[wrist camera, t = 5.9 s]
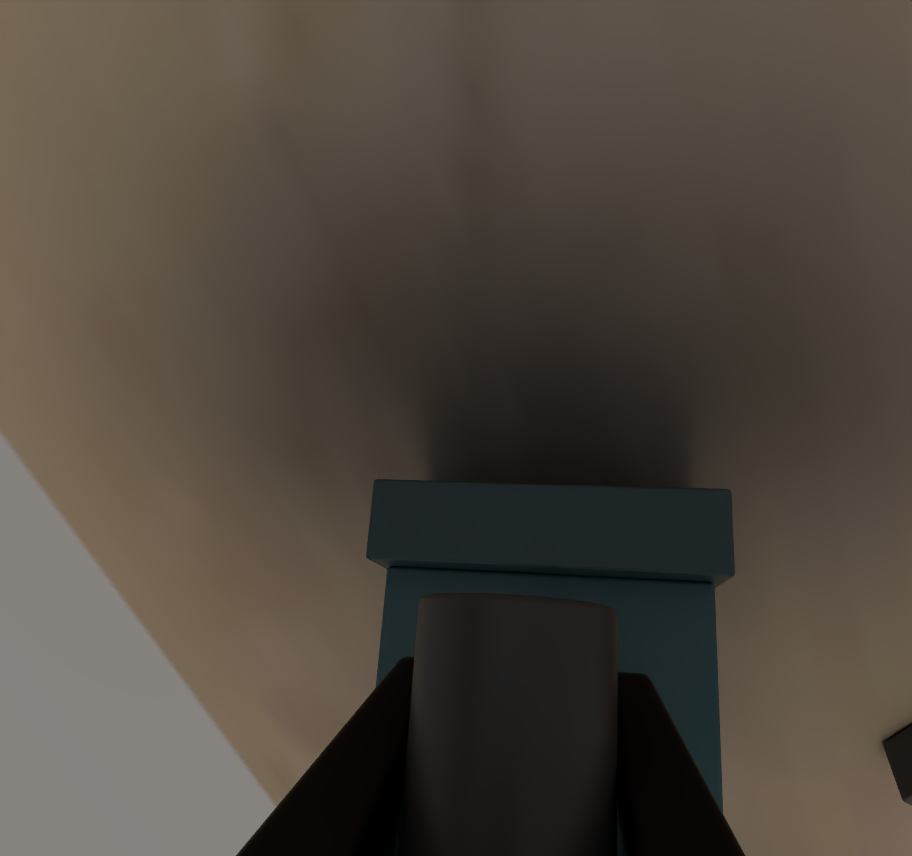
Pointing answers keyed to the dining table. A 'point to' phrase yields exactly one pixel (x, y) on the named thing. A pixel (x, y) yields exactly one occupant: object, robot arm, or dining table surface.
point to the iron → (542, 650)
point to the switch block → (901, 761)
